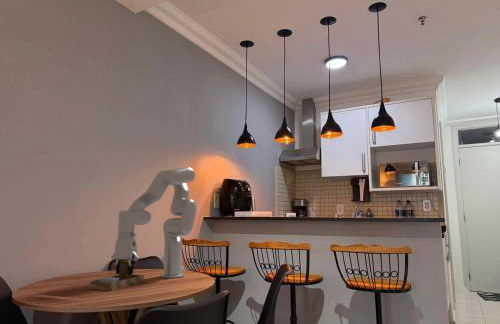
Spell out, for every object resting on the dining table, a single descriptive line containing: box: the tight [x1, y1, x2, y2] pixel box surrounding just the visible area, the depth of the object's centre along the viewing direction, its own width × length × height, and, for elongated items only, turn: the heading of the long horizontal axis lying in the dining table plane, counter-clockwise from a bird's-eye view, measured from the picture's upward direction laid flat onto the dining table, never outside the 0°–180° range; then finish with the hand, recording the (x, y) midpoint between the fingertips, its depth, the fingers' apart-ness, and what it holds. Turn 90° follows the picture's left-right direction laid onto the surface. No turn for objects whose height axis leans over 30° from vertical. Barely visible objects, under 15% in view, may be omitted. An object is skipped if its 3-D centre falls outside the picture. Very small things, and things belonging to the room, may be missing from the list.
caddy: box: [88, 274, 145, 291], centre depth 168 cm, size 22×13×4 cm, turn 161°
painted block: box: [98, 276, 119, 283], centre depth 163 cm, size 4×8×4 cm, turn 71°
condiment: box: [118, 259, 133, 279], centre depth 173 cm, size 7×8×12 cm
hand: (124, 273), depth 173 cm, fingers closed on condiment, 6 cm apart
